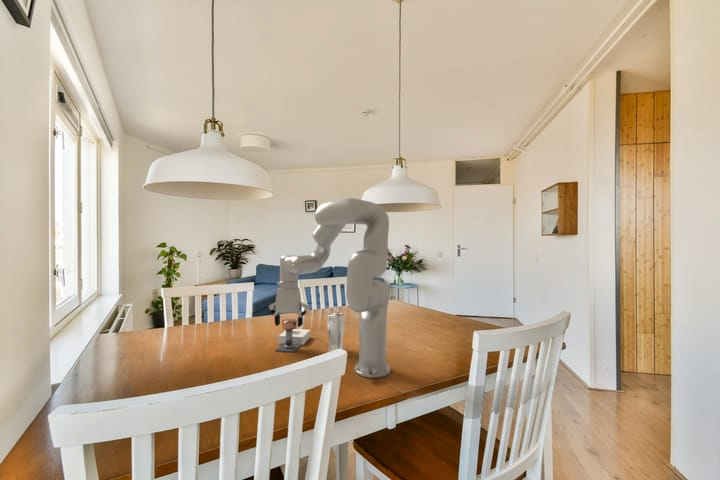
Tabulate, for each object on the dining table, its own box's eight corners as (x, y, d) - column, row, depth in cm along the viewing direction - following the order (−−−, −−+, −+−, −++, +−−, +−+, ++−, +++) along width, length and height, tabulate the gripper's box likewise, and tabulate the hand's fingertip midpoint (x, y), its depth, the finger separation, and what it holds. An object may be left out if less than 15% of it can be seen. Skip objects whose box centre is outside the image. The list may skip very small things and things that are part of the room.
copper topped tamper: (292, 349, 127) (293, 322, 127) (278, 348, 128) (280, 321, 128) (297, 345, 133) (298, 319, 133) (284, 344, 134) (285, 318, 134)
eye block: (302, 345, 135) (302, 337, 135) (278, 343, 136) (278, 335, 136) (310, 337, 146) (310, 329, 146) (287, 336, 147) (287, 328, 147)
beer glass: (333, 346, 133) (333, 311, 133) (347, 349, 130) (347, 313, 130) (323, 351, 127) (324, 315, 127) (338, 354, 124) (338, 317, 124)
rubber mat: (294, 352, 126) (294, 351, 126) (275, 351, 127) (275, 350, 127) (300, 345, 134) (300, 344, 134) (283, 344, 135) (283, 343, 135)
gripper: (265, 285, 128) (265, 327, 128) (306, 286, 125) (305, 329, 125) (273, 283, 135) (272, 322, 135) (311, 284, 133) (311, 324, 133)
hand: (288, 325), depth 130 cm, fingers open, 9 cm apart
